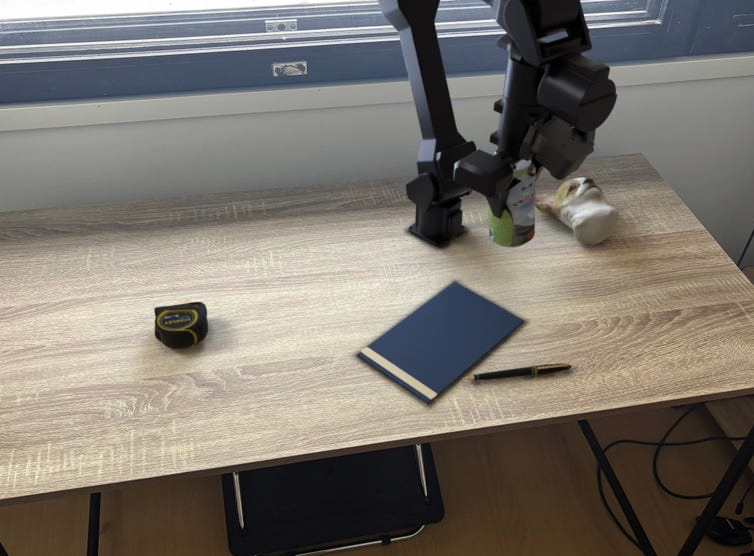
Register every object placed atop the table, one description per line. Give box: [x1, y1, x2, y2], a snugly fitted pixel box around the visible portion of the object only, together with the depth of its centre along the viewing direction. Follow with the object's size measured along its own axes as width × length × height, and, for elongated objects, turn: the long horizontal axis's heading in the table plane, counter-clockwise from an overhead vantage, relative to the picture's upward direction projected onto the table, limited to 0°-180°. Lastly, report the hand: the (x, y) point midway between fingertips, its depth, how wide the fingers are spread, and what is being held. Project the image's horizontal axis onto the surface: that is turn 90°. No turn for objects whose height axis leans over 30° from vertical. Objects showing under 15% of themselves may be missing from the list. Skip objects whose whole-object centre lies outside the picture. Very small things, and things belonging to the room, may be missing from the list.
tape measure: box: [154, 301, 209, 350], centre depth 95 cm, size 7×7×4 cm
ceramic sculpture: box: [535, 177, 621, 245], centre depth 111 cm, size 11×9×15 cm
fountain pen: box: [461, 363, 573, 381], centre depth 91 cm, size 14×1×2 cm, turn 99°
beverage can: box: [487, 159, 537, 249], centre depth 95 cm, size 6×7×12 cm
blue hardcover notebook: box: [356, 281, 525, 405], centre depth 96 cm, size 12×20×1 cm, turn 136°
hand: (509, 208), depth 95 cm, fingers closed on beverage can, 5 cm apart
